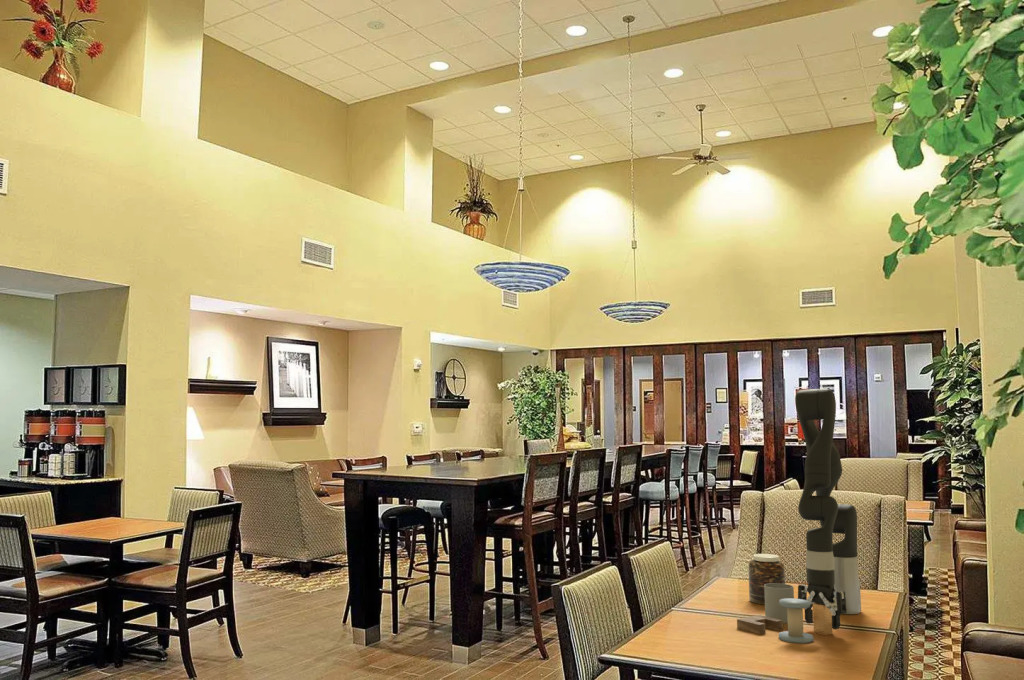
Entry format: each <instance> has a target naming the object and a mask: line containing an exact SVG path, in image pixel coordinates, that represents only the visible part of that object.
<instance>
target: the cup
mask: <svg viewBox="0 0 1024 680" xmlns="http://www.w3.org/2000/svg"><path fill="white" fill-rule="evenodd" d="M794 587H795V586H794V585H792V584H787V583H785V584H780V583H769V584H765V585H764V590H765V605H764V616H766V617H771V618H775V619H779V620H782V622H783V624H788V617H787V607H784V606H781V605H780V604H779V600H780V599H786V598H794V599H795V593H794V590H795V589H794Z"/></svg>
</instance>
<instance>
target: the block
mask: <svg viewBox="0 0 1024 680" xmlns="http://www.w3.org/2000/svg"><path fill="white" fill-rule="evenodd" d="M812 610H813V623H812V624H813V633H814V634H819V635H822V636H828V635H831V634H833V629H832V613H831V611H830V610H829V609H828V608H827V607H826V605H822V604H820V603H813V607H812Z"/></svg>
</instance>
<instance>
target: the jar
mask: <svg viewBox="0 0 1024 680" xmlns="http://www.w3.org/2000/svg"><path fill="white" fill-rule="evenodd" d="M785 570H786V568H785V564H784V562H783V561H780V556H779V555H777V554H771V553H754V554H753V559H752V560H750V561H749V562H748V593H749V594H748V597H749V602H751V603H752V604H758V605H763V606H765V590H764V585H765V584H769V583H780V584H786V571H785Z"/></svg>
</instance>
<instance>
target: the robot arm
mask: <svg viewBox="0 0 1024 680" xmlns="http://www.w3.org/2000/svg"><path fill="white" fill-rule="evenodd" d="M794 399H795V400H794V401H795V402H794V404H795V409H796V414H797V416H798V420H799V423H800V427H801V430H802V434H803V437H804V442H805V446H806V453H807V454H806V456H805V462H804V484H803V490H802V493H801V496H800V499H799V502H798V507H797V509H798V513H799V516H800V517H801V518H802V519H803V520H805V521H818V522H819V524H820V527H817V528H811V529H808V530H807V531H806V533H805V537H806V538H805V539H806V553H805V554H806V555H805V563H806V564H805V566H806V567H805V569H806V570H805V571H806V582H807V584H804V583H803V584H798V586H797V599H803V600H807V601H809V602H810V607H808V608H803V609H804V620H805V622H806V624H813V603H820V604H822V605H826V607H827V608H828V609H829V610H830V611H831V613H832V630H839V629H840V627H841V615H857V614H860V612H862V599H861V598H862V595H861V580H859V563H858V561H859V560H858V559H859V557H858V514H857V509H856V507H855V506H854V505H852V504H848V503H847V504H845V503H843V504H842V503H838V502H837V500H836V499H835V497H833V496H831V493H832V491H833V490H834V488H835V487H836V486H837V484H838V482H839V481H840V479H841V477H842V473H843V466H842V460H841V455H840V452H839V450H838V448H837V447H836V446H835V444H834V443H833V440H834V439H833V438H834V434H835V422H836V417H837V415H836V414H837V413H836V412H837V401H836V400H837V399H836V397H835V393H834V391H833V390H832V389H831V388H813V389H811V388H810V389H802V390H798V391H797V392H796V394H795V397H794ZM815 420H816V421H817V420H819V421H820V420H822V425H821V429H820V430H819V428H818V427H817V425H816V423H815ZM814 493H815V495H813V494H814ZM834 534H839V535H840V534H842V535H843V534H844V538H843V539H841V540H840V541H838V542H835V543H833V542H834V541H833V535H834ZM807 594H809V595H807ZM807 596H808V597H807Z"/></svg>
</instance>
